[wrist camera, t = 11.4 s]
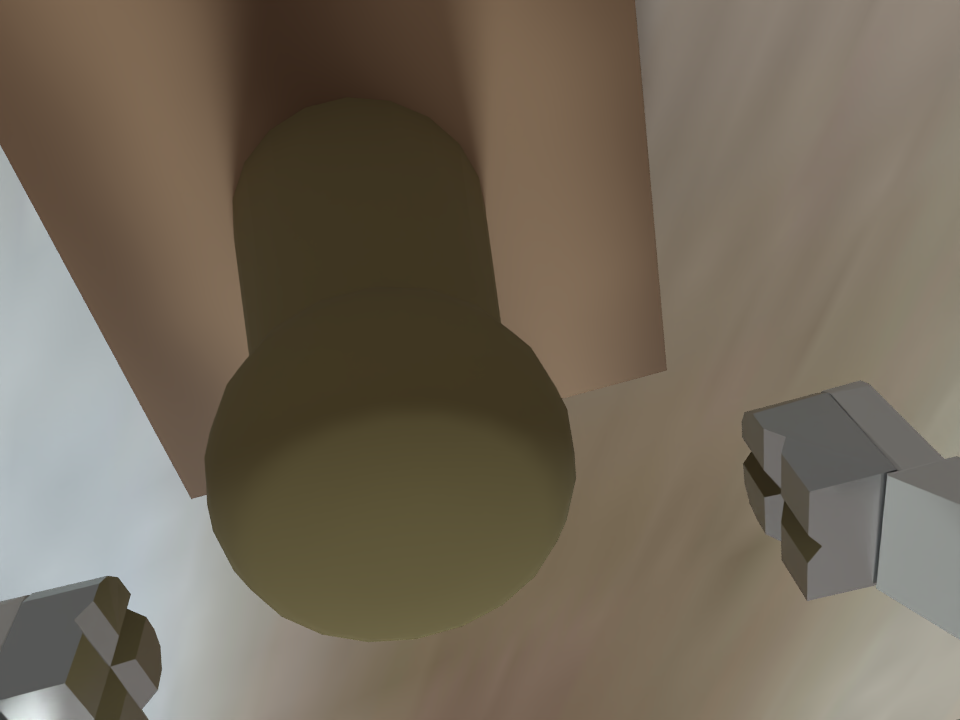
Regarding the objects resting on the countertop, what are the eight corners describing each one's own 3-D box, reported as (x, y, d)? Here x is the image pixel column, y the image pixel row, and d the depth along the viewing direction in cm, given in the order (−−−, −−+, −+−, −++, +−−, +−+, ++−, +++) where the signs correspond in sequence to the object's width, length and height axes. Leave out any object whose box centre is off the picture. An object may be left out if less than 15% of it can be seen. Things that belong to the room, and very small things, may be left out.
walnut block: (543, -195, 21) (616, -214, 16) (603, 280, 28) (666, 370, 23) (3, -66, 20) (-101, -42, 15) (213, 383, 28) (191, 498, 23)
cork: (206, 108, 17) (84, 384, 8) (481, 86, 18) (654, 316, 9) (256, 348, 21) (211, 741, 11) (489, 320, 21) (623, 667, 12)
